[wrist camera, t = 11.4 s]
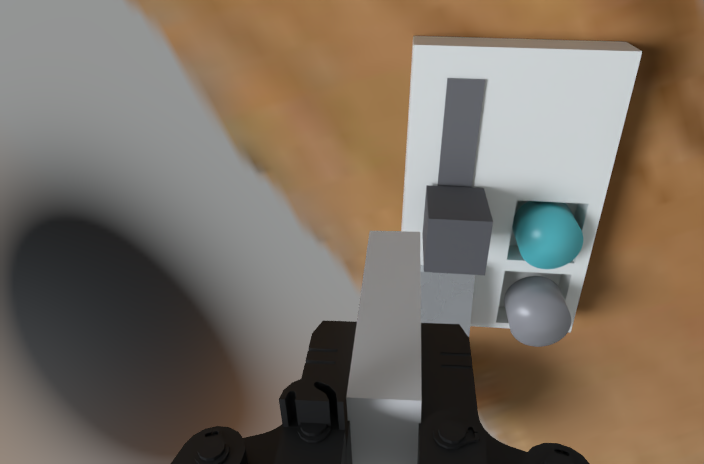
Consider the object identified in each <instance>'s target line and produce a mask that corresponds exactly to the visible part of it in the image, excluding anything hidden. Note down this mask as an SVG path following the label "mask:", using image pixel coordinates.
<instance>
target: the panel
mask: <svg viewBox="0 0 704 464" xmlns="http://www.w3.org/2000/svg"><path fill="white" fill-rule="evenodd" d="M641 55H642V51H641V50H639V49H637V48H636V47H634V46H632V45H631V44H629V43H627V42H617V41H581V40H545V39H509V38H473V37H437V36H413V48H412V65H411V81H410V97H409V114H408V130H407V146H406V163H405V179H404V195H403V211H402V228H401V231H407V232H420V265H424V263H423V238H422V233H423V221H424V209H425V197H426V185H430V186H452V187H474V188H484V190H485V193H486V197H487V201H488V205H489V208H490V212H491V216H492V219H493V226H492V233H491V240H490V246H489V253H488V259H487V266H486V273H485V275H475V282H474V292H473V302H472V312H471V322H470V326H479V327H495V328H510V326H509V322H508V318H507V314H506V309H505V305H504V296H505V293H506V291H507V290H508V288H509V287H510V286H511V285H512V284H513V283H514V282H516V281H518V280H520V279H522V278H525V277H529V276H542V277H546V278H548V279H550V280H552V281H554V282H555V283H556V284H557V285H558V286H559V288H560V290H561V292H562V295H563V297H564V300H565V302H566V305H567V307H568V310H569V312H570V315H571V327H570V329H569V331H568V332H571V329H572V325H573V322H574V318H575V314H576V310H577V306H578V302H579V298H580V294H581V290H582V286H583V282H584V278H585V275H586V271H587V267H588V263H589V259H590V255H591V251H592V247H593V243H594V239H595V235H596V231H597V228H598V224H599V220H600V216H601V212H602V208H603V204H604V200H605V196H606V192H607V188H608V184H609V180H610V177H611V173H612V169H613V165H614V161H615V157H616V153H617V149H618V145H619V141H620V137H621V133H622V130H623V126H624V122H625V118H626V114H627V110H628V106H629V102H630V98H631V94H632V90H633V86H634V83H635V79H636V75H637V71H638V67H639V63H640V59H641ZM528 201H542V202H563V203H565V204H566V205H567V206H568V207H569V208H570V210H571V212H572V214H573V216H574V218H575V219H576V221H577V223H578V225H579V227H580V229H581V231H582V233H583V246H582V249H581V251H580V252H579V254H578V255H577V256H576V258H575V259H574V260H572V261H571V262H570V263H568V264H566V265H564V266H562V267H559V268H555V269H540V268H536V267H534V266H532V265H530V264H528V263H527V262H526V261H525V260H524V259H523V257H522V256H521V254H520V251H519V248H518V245H517V242H516V238H515V235H514V232H513V228H512V226H513V220H514V216H515V214H516V212H517V211H518V209H519V208H520V207H521V206H522V205H523V204H525V203H526V202H528Z"/></svg>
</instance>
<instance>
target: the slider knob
mask: <svg viewBox="0 0 704 464" xmlns="http://www.w3.org/2000/svg"><path fill="white" fill-rule="evenodd" d="M492 226H493V219H492V216H491V212H490V208H489V205H488V201H487V197H486V193H485V190H484V188H474V187H452V186H430V185H426V197H425V209H424V221H423V233H422V238H423V263H424V272H433V273H451V274H469V275H485V273H486V266H487V259H488V253H489V246H490V240H491V233H492Z"/></svg>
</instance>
